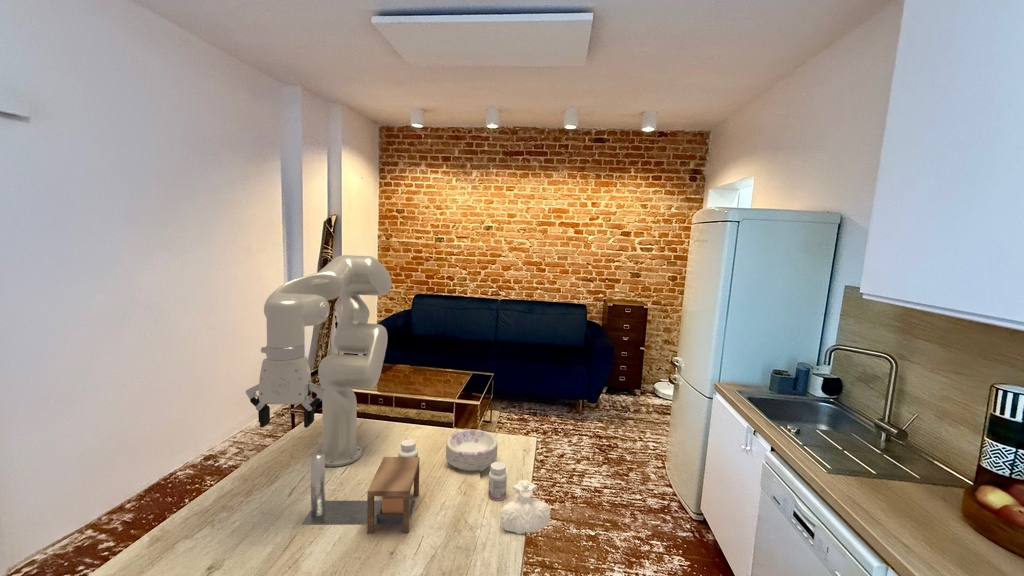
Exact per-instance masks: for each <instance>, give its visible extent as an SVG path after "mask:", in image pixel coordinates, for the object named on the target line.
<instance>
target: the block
mask: <svg viewBox="0 0 1024 576" xmlns="http://www.w3.org/2000/svg"><path fill="white" fill-rule="evenodd" d="M381 501H382V514H403V496H383V497H381Z"/></svg>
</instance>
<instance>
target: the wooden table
mask: <svg viewBox="0 0 1024 576" xmlns="http://www.w3.org/2000/svg"><path fill="white" fill-rule="evenodd" d="M420 458H421V457H420V456H418V457H398V456H383V458H382V459H381V462H380V464H379V466H378V468H377V471H376V472H375V474H374V477H373V478H372V481H371V483H370V484H369V486H368V489H367V493H366V494H367V497H366V498H367V499H366V501H367V526H366V529H367V530H366V531H367V533H366V534H373V533H374V531H375V525H374V501H375V497H381V498H383V496H403V524H402V534H409V533H410V521H411V518H410V497H411V491H412V487H413V497H419V495H420V463H421V462H420Z"/></svg>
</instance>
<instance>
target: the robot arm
mask: <svg viewBox="0 0 1024 576" xmlns="http://www.w3.org/2000/svg"><path fill="white" fill-rule="evenodd" d="M391 289H392V277H391V275H390V272H389V271H388V269H387V268H386V267H385V266H384V265H383V264H382V263H381V262H380V261H379V260H378V259H377V258H375V257H373V256H369V255H354V254H352V255H351V254H350V255H348V254H345V255H338V256H336V257H334V258H333V259H331V261H329V262H328V263H326V265H325V266H324V267H322V268H321V269H320V270H319V271H317V272H315V273H311V274H309V275H308V274H307V275H305V276H301V277H299V278H296V279H292V280H290V281H287V282H286V283H283V284H282V285H280V286H278V287H277V288H276V289H275V290H274V291H272V293H271V294H270V295H269V296H268V297H267V298H266V300H265V303H264V307H263V314H264V316H265V318H266V346H262V347H260V348H261V349H260V352H261V353H262V354H265V358H263V359H262V363H261V366H260V373H259V381H258V384H256V385H254V386H251V387H249V388H247V389H246V390H245V394H246V395H247V398H248V399H249V401H250V403H251V404H252V405H253V406H254V407H255V410H256V411H257V412H258V423H259V427H260V428H264V427H265V428H266V426H267V425H268V424H269V423H270V422H271V411H270V410H271V408H270V405H302V406H303V407H304V409H305V410H304V412H303V427H304V428H305V429H307V428H309V427H310V426H311V425H312V423H314V421H315V407H316V406H318V405H319V403H320V402H321V401H322V405H321V406H322V438H321V439H319V440H318V444H319V445H321V451H319V452H323V453H324V454H325V467H333V468H334V467H335V468H336V467H342V466H347V465H350V464H352V463H355V462H356V461H358V460H359V459H360V458H361V457H362V455H363V449H362V447H361V446H360V445H357V441H358V440H357V438H358V436H357V432H358V431H357V430H358V429H357V428H358V427H357V425H358V424H357V420H358V418H357V413H358V412H357V410H358V408H357V407H358V405H357V396H356V394H355V392H354V390H353V389H354V388H355V389H372V388H374V387H376V385H377V384H378V382H379V379H380V377H381V374H382V369H383V364H384V361H385V357H386V352H387V351H386V350H387V347H388V331H387V328H386V327H385V326H383V325H382V324H380V323H368V322H369V319H370V309H369V307H368V305H367V304H366V303H365V302H364V300H363V299H362V298H361V297H360V296H375V297H377V296H378V297H380V296H385V295H387V294H388V293H390V290H391ZM337 298H339V299H340V302H341V312H340V316H339V320H338V322H337V323H338V324H337V326H336V330H335V332H334V336H333V337H334V338H333V342H332V345H333V348H334V349H335V350H336V351H337V352H340V353H344V354H340V353H339V354H338V353H337V354H336V353H335V354H331V355H329V354H328V355H327V356H325V357H323V358H322V359H321V361H320V362H319V365H318V369H317V371H318V372H317V373H318V380H319V383H320V386H319V385H317V384H315V383H314V382H312V375H311V373H312V372H311V369H310V368H311V367H310V362H309V358H308V357H307V356H305V327H310V326H312V327H314V326H318V325H320V324H322V323H324V322H325V321H326V320H327V319H328V317H329V315H330V312H331V311H330V309H331V306H330V304H329V301H332V300H335V299H337ZM360 354H361V355H360ZM257 391H258V394H257ZM312 392H313V393H315V394H316V397H315V399H313V397H312Z"/></svg>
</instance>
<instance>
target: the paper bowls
mask: <svg viewBox="0 0 1024 576" xmlns="http://www.w3.org/2000/svg"><path fill="white" fill-rule="evenodd" d="M445 443H446V445H445V446H446V447H445V457H446V460H447V463H449V464H450V465H451V466H453V467H454V468H455V469H459V470H460V471H465V472H477V471H479V472H480V473H481V472H483V471H485V470H486V469H487V468H488V467H489V466H491V464H492V463H494V462H496V461H497V460H496V459H497V457H498V439H497V437H496V436H495V435H494V434H492V433H491V432H489V431H485V430H481V429H465V430H460V431H456V432H455V433H452V434H450V435H449V436H448V437H447V439H446V441H445Z"/></svg>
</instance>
